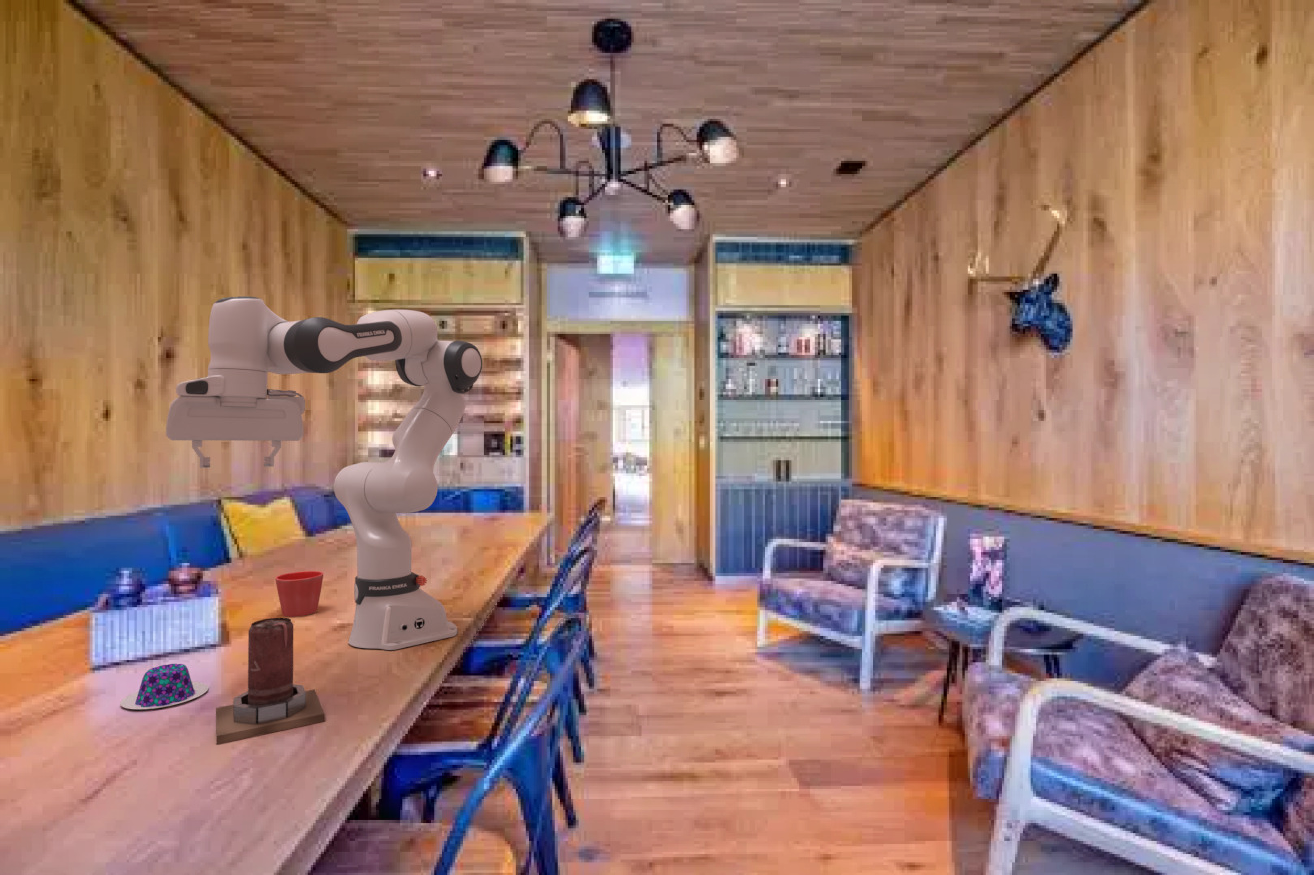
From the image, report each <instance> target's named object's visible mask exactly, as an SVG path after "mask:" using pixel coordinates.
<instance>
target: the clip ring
mask: <svg viewBox="0 0 1314 875" xmlns="http://www.w3.org/2000/svg"><path fill="white" fill-rule="evenodd" d="M305 691H306V690H305V687H304V685H302V684H294V683H293V696H292V697H291V698H289V699H287V700H285V701H282V702H277V703H271V704H266V705H261V706H257V705H248V690H247V691H245V692H243V693H240V694H238V695H236V696H234V698H232V700H233V701H232V703H233V704H232V705H233V718H234V722H235V723H245V724H255V725H256V724H262V723H267V722H272V721H277V720H282V719H286V718H289V717H291V716H292V715H294V714H296V713H298V712H299V711H301V710H303V709H305V708H306V692H305Z"/></svg>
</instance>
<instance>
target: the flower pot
mask: <svg viewBox="0 0 1314 875" xmlns="http://www.w3.org/2000/svg"><path fill="white" fill-rule="evenodd" d="M323 580H324V572H322V571H315V570H312V571H311V570H310V571H309V570H308V571H295V572H289V573H283V574H280V575H277V576H276V577H275V585H276V590H277V596H278V600H279V604H280V609H281V614H282V616H284V618H298V617H306V616H309V615H313V614H315V613H317V612H318V609H319V604H320V603H319V602H320V598H321V593H322V586H323Z"/></svg>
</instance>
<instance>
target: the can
mask: <svg viewBox="0 0 1314 875" xmlns="http://www.w3.org/2000/svg"><path fill="white" fill-rule="evenodd" d="M247 635H248V642H247V643H248V645H247V646H248V652H247V653H248V654H247V657H248V658H247V660H248V661H247V662H248V663H247V665H248V666H247V691H248V705H257V706H261V705H266V704H271V703H277V702H282V701H285V700H287V699H289V698H291V697H292V696H293V684H294V623H293V622H292V619H291V618H290V617H270V618H265V619H260V620H257V621H254V622H252V623H251V624H250V627H249V629H248V634H247Z"/></svg>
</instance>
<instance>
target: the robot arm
mask: <svg viewBox="0 0 1314 875" xmlns="http://www.w3.org/2000/svg"><path fill="white" fill-rule="evenodd" d="M207 337H208V338H207V339H208V340H207V342H208V345H207V346H208V348H209V351H210V361H209V364H208V365H207V366H208V367H207V375H206V376H207V377H198V378H194V379H192V380H187V381H182V382H179V383H177V385H176V387H175V393H176V395H177V396H178V397H176V398H175V399H174V400H172V402H171V403H170V406H169V409H168V414H167V418H166V419H167V420H166V429H165V436H166V437H167V438H168V439H170V440H171V441H191V448H192V450H193V452H195V454H196V455H197V457H198V458H199V468H200V469H201V468H203V469H205V468H210V467H211V463H210V462H211V456H205V455H204V454H203V453H202V451H201V450H200V448H202V447H203V441H253V442H254V441H255V442H256V441H263V442H265V441H270V442H271V444H270V445H271V448H273V450H272V451H271V453H270V454H269V455H268V456H263V460H264V462H263V467H268V468H269V467H270V468H271V467H275V457H276V455H277V454H278V453H279V451H280V450H281V448H282V442H284V441H285V442H288V441H289V442H294V441H295V442H297V441H298V442H299V441H300V440H302V438H304V422H303V416H302V415H303V414H304V412H305V411H306V399H305V398H304V395H302V394H301V393H299V392H297V391H296V390H293V389H292V390H291V389H289V390H288V389H287V390H281V389H272V388H270V389H269V388H268V379H269V378H268V373H270V374H276V375H297V374H330V373H333V372H335V371H337V370H339V369H340V368H342V367H343V366H344V365H345V364H347V363H348V362H349V361H351V360H352V359H356V358H360V357H365V358H367V359H368V360H371V361H376V362H377V361H378V362H389V361H394V362H395V364H394V365H395V369H396V372H397V375H398V377H399V378H400V380H401V381H402V382H403V383H405V384H407V385H409V386H414V387H419V388H420V387H424V390H423V393H422V396H421V397H420V399H419V400H418V401H417V402H416V403H415V404H414V406H413V407H412V408H411V409H410V411H409V412H408V414H407V415H406V416H405V417H404V419H403V420H402V421H401V423H400V424H399V426H397V428H396V429H395V430H394V432H393V434H392V439H391V440H392V444H393V447H394V449H395V450H394V453H393V455H392V456H391V458H389V459H388V460H386V461H385V462H384V461H382V462H381V461H380V462H379V461H362V462H357V463H354V464H351V465H347V466H345V467H343V468H342V469H341V470H340V471H339V472H338V473H337V475H336V477H335V480H334V482H333V492H334V496H335V497H336V499H337V501H338V502H339V503H341V505H342V506H343V507H344V509H345V510H346V512H347V514H348V516H349V519H350V522H351V524H352V528H353V532H354V534H355V536H354V537H355V539H356V540H355V541H356V561H357V563H356V564H357V565H356V566H357V568H356V569H357V572H356V573H357V574H356V576H355V578H354V588H353V589H354V590H353V591H354V594H353V595H354V596H353V597H354V599H353V600H354V603H355V610H354V611H355V612H354V619H353V624H352V628H351V632H350V636H349V639H348V644H349V645H350V646H352V647H356V648H361V649H379V650H380V649H381V650H387V651H396V650H400V649H403V648H407V647H409V648H410V647H413V646H417V645H421V644H425V643H429V642H433V641H439V640H443V639H449V638H452V637H455V636H456V635H457V634H458V627H457V626H456V624H455V623H453V622H452V621H450V620H448V618H447V612H446V609H445V606H444V605H443V603H442V602H440V601H439V600H438V599H436V598H435V597H434V596H432V595H431V594H429V593H427V592H426V591H425V590H423V589H421V588H420V587H424V586H426V584H427V582H428V579H427V578H426V576H424V575H420V574H417V573H415V572H412V538H411V536H410V535H409V534H408V533H407V531H406V530H405V529H404V528H403V527H402V525H401V523H400V522H399V518H398V515H397V514H410V513H411V514H412V513H415V512H416V513H417V512H420V511H424V510H426V509H429V507H431V506H432V504H433V503H434V502H435V500H436V497H437V495H438V494H437V493H438V482H437V478H436V476H435V474H434V468H435V467H434V466H435V465H436V464H435V463H436V461H437V459H438V457H439V456H440V455H441V453H442V451H443V449H444V447H445V446H446V444H448V442H449V440H450V439H451V437H452V436H453V435H454V432H455V431H456V429H457V428H458V425H459V423H460V421H461V419H462V418H463V415H464V412H465V409H466V400H465V398H464V395H463V394H466V393H468V392H470V391H471V390H472V389H473V386H474V384H476V382H477V381H478V379H479V378H480V374H481V373H482V370H483V359H482V354H481V353H480V350H479V348H478V347H477V346H476V345H475V344H473V343H471V342H469V341H464V340H439V338H438V328H437V325H436V322H435V321H434V319H433V318H432V317H431V316H430V315H429V314H427V313H425V312H422V311H419V310H412V309H411V310H410V309H384V310H379V311H378V310H377V311H374V312H370V313H367V314H365V315H362V316H361V317H359V318H358V320H357V322H356V323H354V324H343V323H340V322H337V321H335V320H332V319H329V318H328V317H323V316H315V317H310V318H305V319H302V320H294V321H288V320H286V319H284V318H283V317H281V316H279V315H277V313H275V312H274V311H272V310H271V309H270V308H269V306H267V305H266V304H265V301H264V300H263V299H262V298H259V297H256V296H247V295H246V296H243V295H242V296H229V297H228V296H227V297H224V298H220V299H218V300H216V301H214V303H213V304H212V307H211V310H210V315H209V321H208V336H207Z"/></svg>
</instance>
